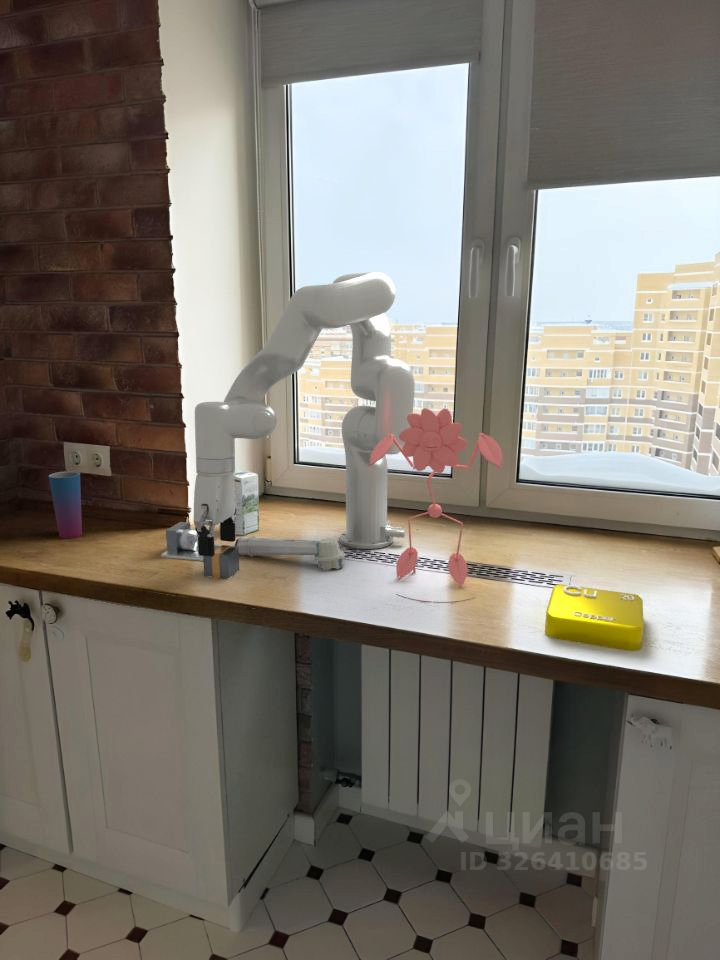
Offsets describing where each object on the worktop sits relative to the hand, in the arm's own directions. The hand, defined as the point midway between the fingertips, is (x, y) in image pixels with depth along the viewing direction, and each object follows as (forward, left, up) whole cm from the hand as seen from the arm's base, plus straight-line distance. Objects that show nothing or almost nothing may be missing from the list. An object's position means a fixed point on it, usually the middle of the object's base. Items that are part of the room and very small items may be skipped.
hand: (217, 548), depth 137 cm
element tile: (-72, +6, -6) cm, 73 cm away
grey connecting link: (-11, -11, -6) cm, 17 cm away
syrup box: (+7, -28, -6) cm, 29 cm away
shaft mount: (+9, -11, -5) cm, 15 cm away
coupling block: (0, -1, -6) cm, 6 cm away
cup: (+46, -15, -6) cm, 48 cm away
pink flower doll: (-42, -4, -6) cm, 43 cm away
